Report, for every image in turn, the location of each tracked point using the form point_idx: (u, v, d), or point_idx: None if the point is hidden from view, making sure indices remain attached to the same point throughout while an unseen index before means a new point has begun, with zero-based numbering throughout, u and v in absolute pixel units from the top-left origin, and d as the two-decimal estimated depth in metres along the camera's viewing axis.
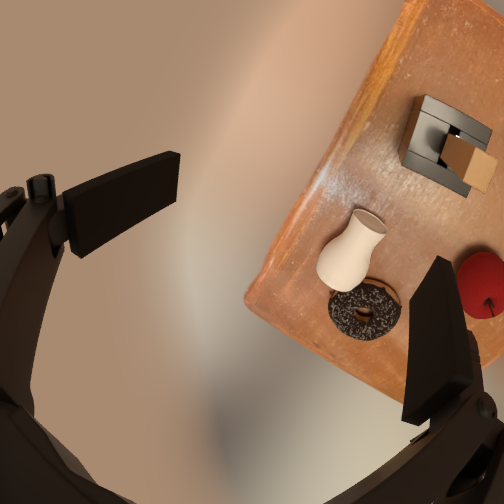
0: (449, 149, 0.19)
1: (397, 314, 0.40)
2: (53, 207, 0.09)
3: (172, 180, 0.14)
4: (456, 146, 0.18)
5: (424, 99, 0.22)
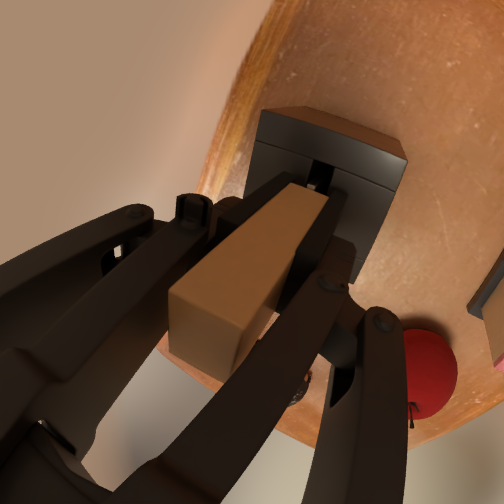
0: None
1: (301, 389, 0.33)
2: (202, 239, 0.09)
3: None
4: None
5: (261, 119, 0.15)
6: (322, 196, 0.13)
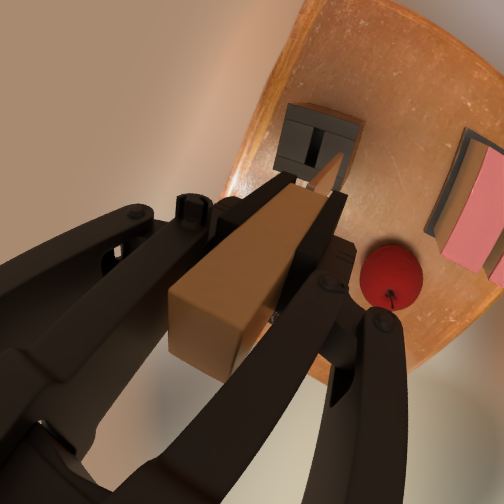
0: None
1: None
2: (202, 239, 0.09)
3: None
4: None
5: (287, 108, 0.29)
6: (322, 196, 0.13)
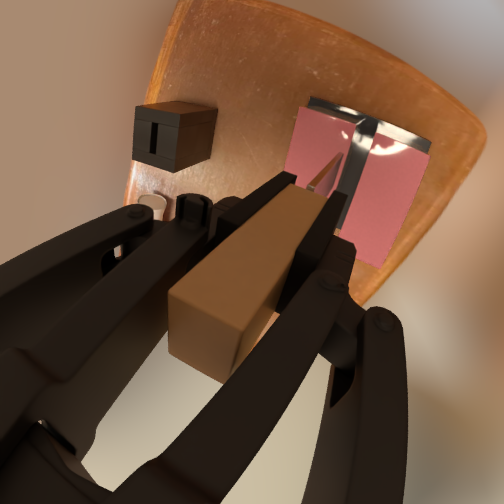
0: None
1: None
2: (202, 240, 0.09)
3: None
4: None
5: (135, 110, 0.35)
6: (322, 197, 0.13)
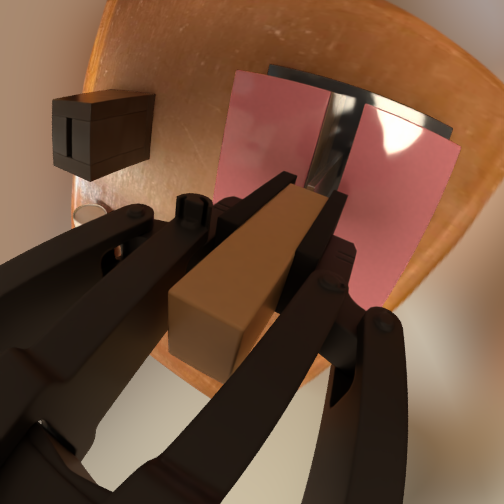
0: None
1: None
2: (202, 239, 0.09)
3: None
4: None
5: (52, 104, 0.23)
6: (322, 197, 0.13)
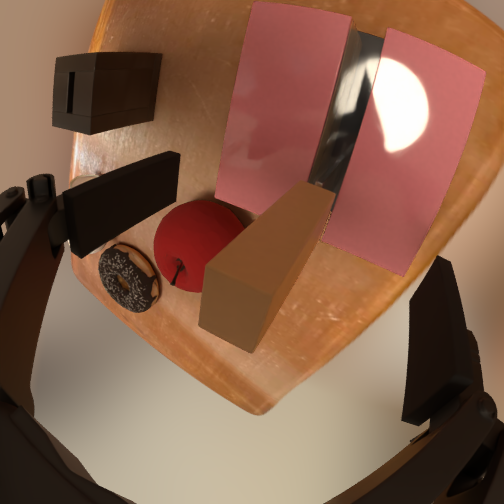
0: None
1: (144, 283, 0.39)
2: (53, 207, 0.09)
3: (172, 180, 0.14)
4: None
5: (56, 62, 0.20)
6: (329, 192, 0.14)
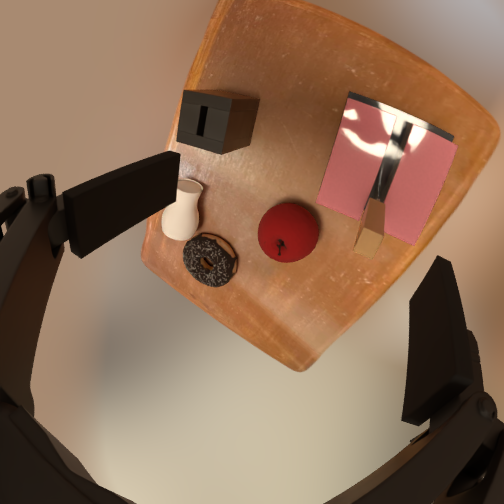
0: (364, 214, 0.30)
1: (229, 262, 0.55)
2: (53, 207, 0.09)
3: (172, 180, 0.14)
4: (364, 216, 0.28)
5: (183, 93, 0.37)
6: (383, 203, 0.30)
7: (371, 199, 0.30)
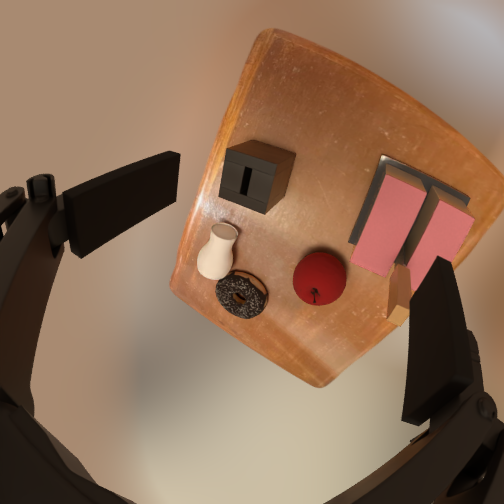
0: (393, 281, 0.35)
1: (261, 298, 0.60)
2: (53, 207, 0.09)
3: (172, 180, 0.14)
4: (395, 285, 0.33)
5: (226, 151, 0.41)
6: (408, 269, 0.35)
7: (399, 266, 0.35)
